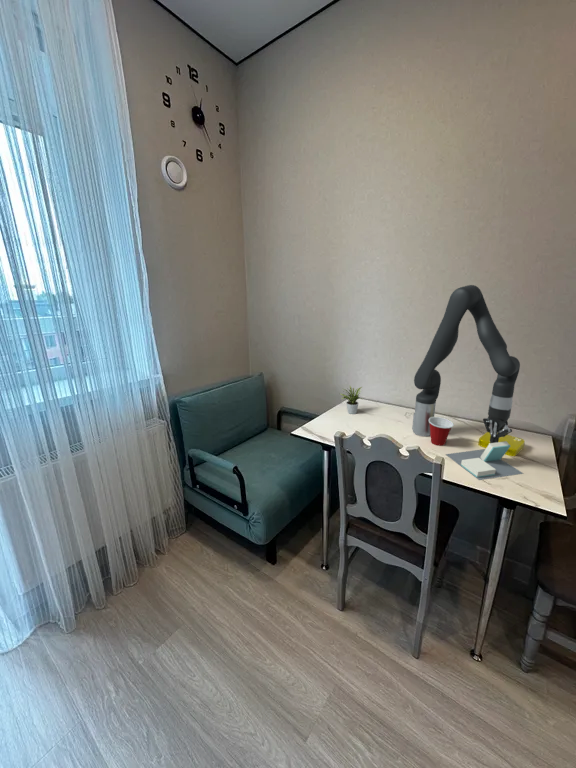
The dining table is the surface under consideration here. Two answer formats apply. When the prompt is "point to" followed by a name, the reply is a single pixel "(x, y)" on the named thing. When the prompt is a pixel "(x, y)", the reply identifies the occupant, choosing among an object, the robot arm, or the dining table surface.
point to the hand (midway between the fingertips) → (493, 443)
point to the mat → (499, 465)
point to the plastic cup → (439, 430)
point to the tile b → (495, 451)
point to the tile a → (478, 467)
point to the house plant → (352, 400)
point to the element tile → (514, 442)
